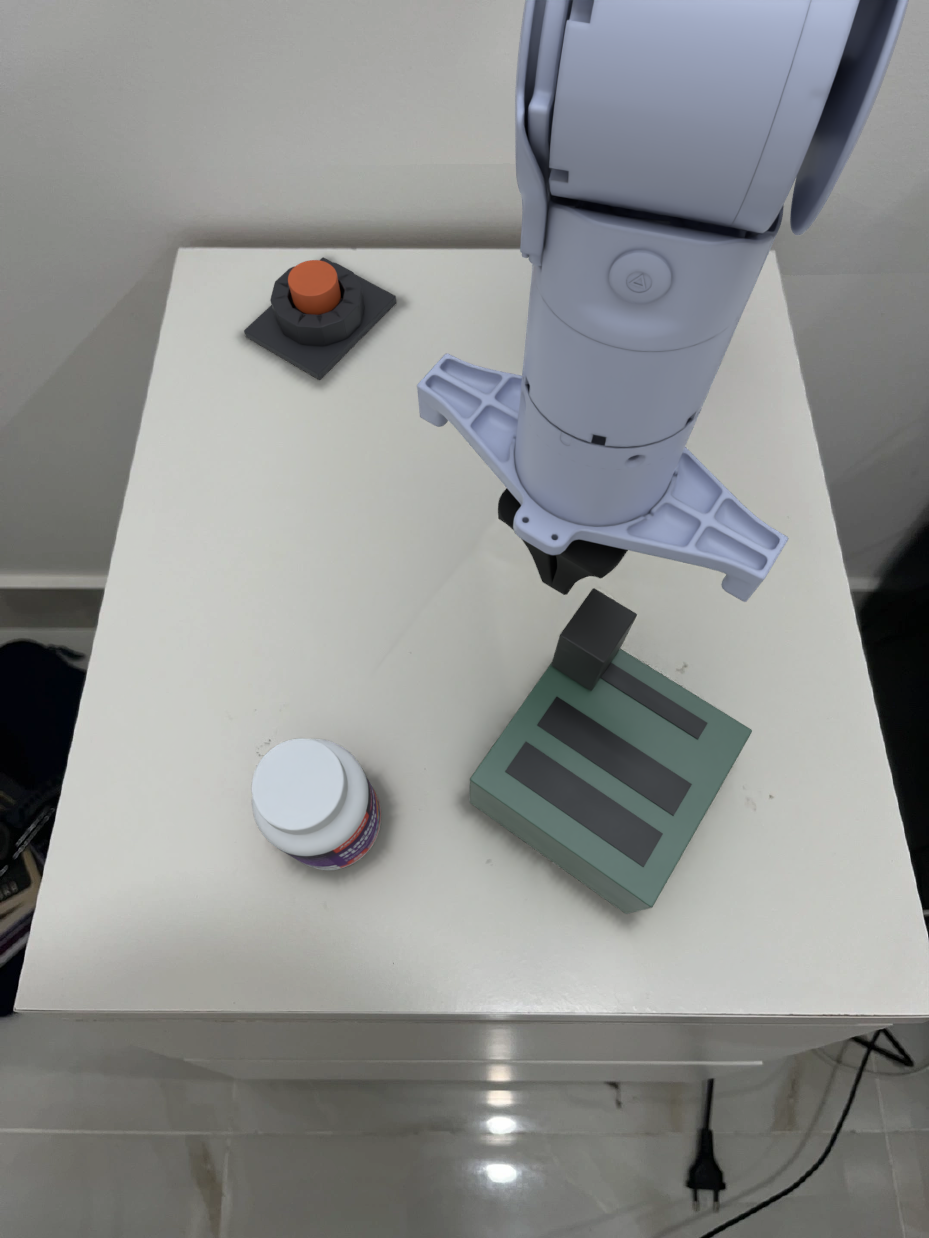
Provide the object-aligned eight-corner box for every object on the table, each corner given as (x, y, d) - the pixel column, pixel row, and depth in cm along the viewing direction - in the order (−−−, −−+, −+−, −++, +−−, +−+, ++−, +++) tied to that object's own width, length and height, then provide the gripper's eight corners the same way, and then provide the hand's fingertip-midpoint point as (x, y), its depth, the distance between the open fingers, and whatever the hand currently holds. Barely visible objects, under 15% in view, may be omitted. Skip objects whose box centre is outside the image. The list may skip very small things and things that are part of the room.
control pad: (324, 264, 58) (318, 236, 56) (397, 303, 57) (394, 276, 54) (245, 337, 55) (236, 311, 53) (319, 381, 54) (313, 355, 51)
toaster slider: (581, 621, 39) (593, 587, 36) (621, 645, 39) (637, 613, 35) (550, 665, 38) (559, 635, 35) (591, 691, 38) (604, 663, 34)
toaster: (565, 662, 45) (579, 621, 39) (716, 758, 43) (754, 729, 37) (468, 802, 42) (469, 778, 36) (626, 914, 39) (652, 908, 34)
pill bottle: (369, 880, 40) (340, 860, 31) (271, 859, 41) (216, 833, 32) (393, 780, 42) (373, 734, 33) (300, 761, 43) (256, 711, 34)
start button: (313, 273, 55) (309, 252, 53) (350, 293, 54) (347, 273, 53) (283, 301, 54) (277, 282, 52) (320, 322, 53) (315, 303, 51)
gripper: (350, 352, 24) (390, 557, 36) (773, 589, 20) (658, 725, 33) (477, 220, 26) (474, 456, 39) (876, 414, 23) (732, 603, 35)
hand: (564, 573), depth 36 cm, fingers closed
